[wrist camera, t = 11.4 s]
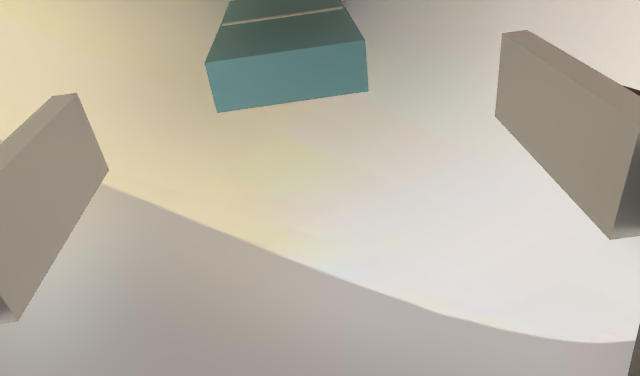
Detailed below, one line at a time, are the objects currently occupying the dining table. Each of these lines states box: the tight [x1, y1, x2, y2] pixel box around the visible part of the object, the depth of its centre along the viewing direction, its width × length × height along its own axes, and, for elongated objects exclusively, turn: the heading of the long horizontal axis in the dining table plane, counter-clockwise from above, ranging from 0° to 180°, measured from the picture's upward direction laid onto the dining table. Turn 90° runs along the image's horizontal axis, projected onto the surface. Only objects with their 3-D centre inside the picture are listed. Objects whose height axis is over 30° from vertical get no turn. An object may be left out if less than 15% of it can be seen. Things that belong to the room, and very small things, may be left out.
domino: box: [205, 0, 368, 113], centre depth 23 cm, size 6×2×12 cm, turn 97°
